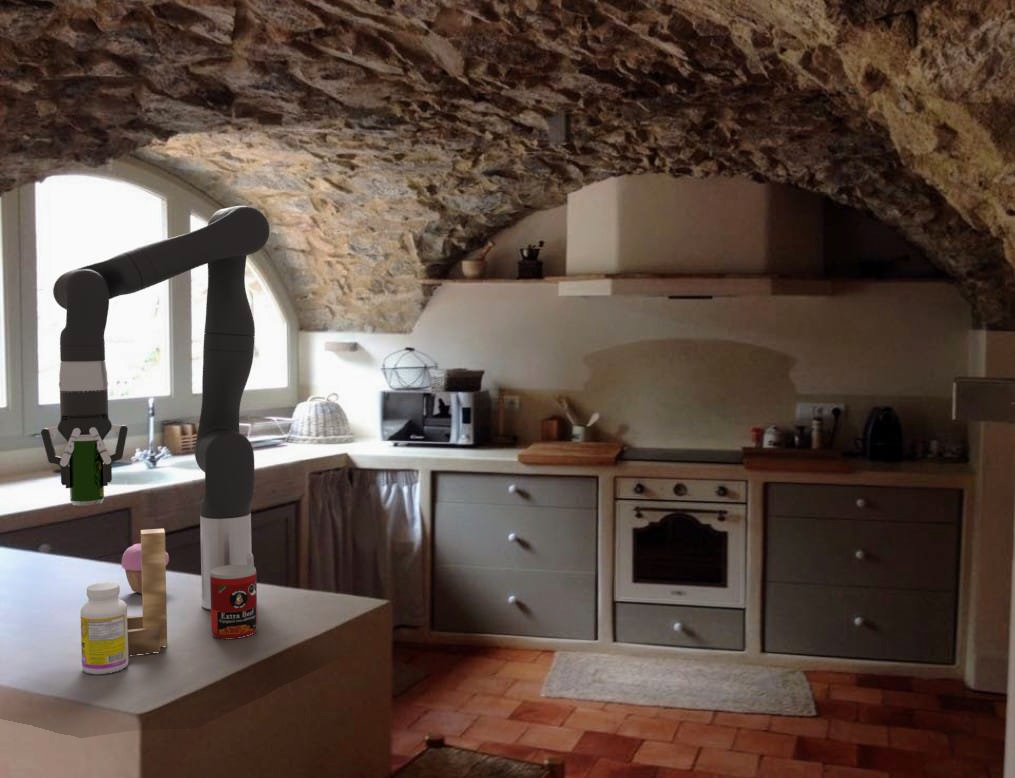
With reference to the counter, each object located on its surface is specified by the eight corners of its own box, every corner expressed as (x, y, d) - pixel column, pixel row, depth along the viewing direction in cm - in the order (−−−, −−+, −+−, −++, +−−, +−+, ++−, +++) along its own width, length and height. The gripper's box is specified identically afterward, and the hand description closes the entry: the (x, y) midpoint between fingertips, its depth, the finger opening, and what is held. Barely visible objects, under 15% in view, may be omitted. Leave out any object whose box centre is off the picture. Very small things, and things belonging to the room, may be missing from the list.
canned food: (216, 642, 166) (215, 577, 165) (207, 629, 173) (205, 567, 172) (262, 635, 169) (261, 571, 169) (251, 623, 176) (250, 562, 176)
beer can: (72, 506, 167) (70, 435, 166) (68, 502, 172) (66, 433, 171) (106, 503, 170) (104, 433, 169) (101, 499, 174) (99, 431, 174)
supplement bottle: (90, 662, 156) (88, 581, 155) (133, 660, 157) (132, 580, 156) (75, 676, 149) (73, 592, 149) (121, 675, 150) (118, 591, 149)
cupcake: (177, 590, 200) (176, 541, 199) (139, 600, 192) (138, 548, 192) (151, 584, 205) (149, 536, 204) (112, 593, 198) (111, 543, 197)
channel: (156, 636, 169) (156, 613, 169) (159, 652, 160) (159, 628, 160) (92, 643, 165) (92, 620, 165) (92, 660, 156) (91, 635, 156)
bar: (166, 640, 167) (163, 528, 166) (167, 646, 163) (164, 532, 162) (143, 643, 165) (140, 530, 164) (144, 649, 162) (141, 534, 161)
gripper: (128, 385, 176) (130, 481, 177) (38, 387, 170) (41, 486, 171) (129, 387, 169) (132, 487, 170) (36, 390, 163) (39, 492, 164)
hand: (86, 486), depth 170 cm, fingers closed on beer can, 5 cm apart
